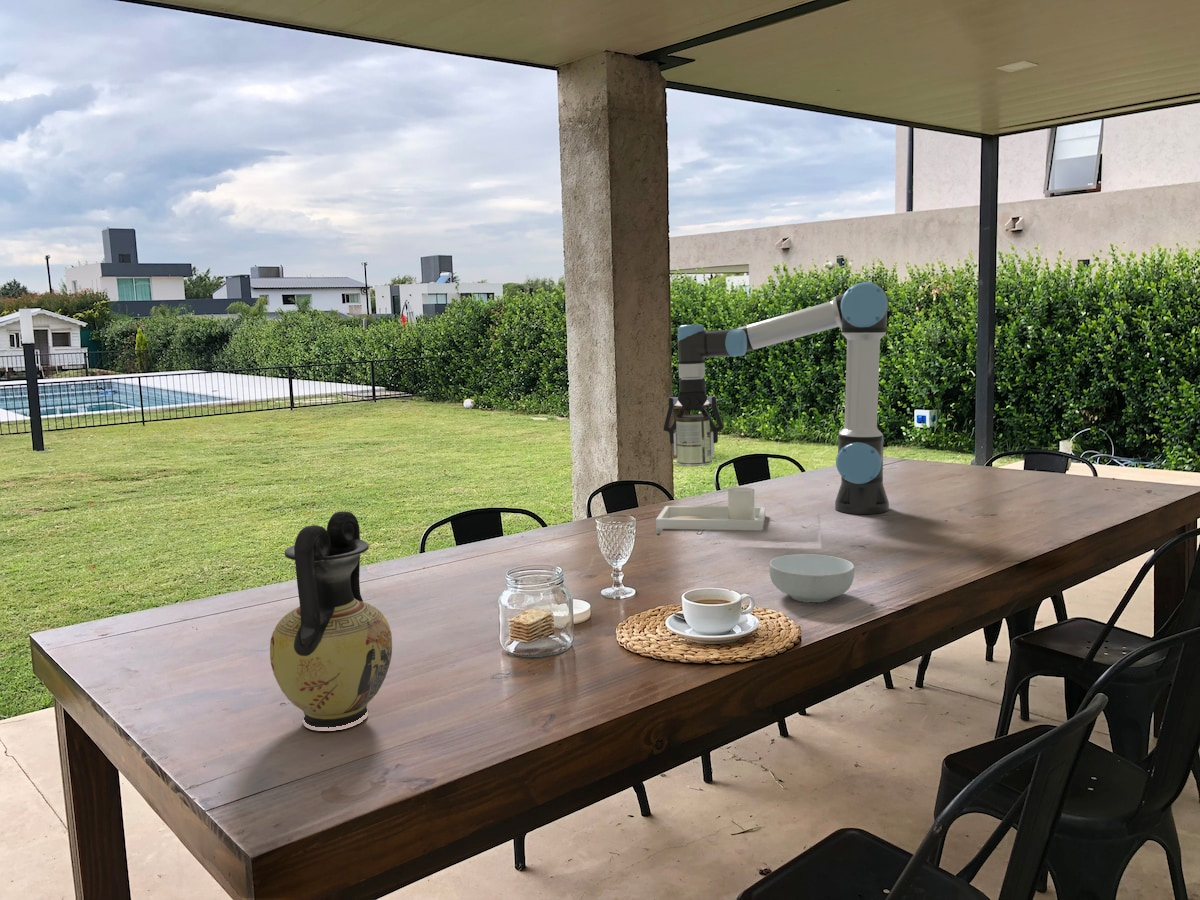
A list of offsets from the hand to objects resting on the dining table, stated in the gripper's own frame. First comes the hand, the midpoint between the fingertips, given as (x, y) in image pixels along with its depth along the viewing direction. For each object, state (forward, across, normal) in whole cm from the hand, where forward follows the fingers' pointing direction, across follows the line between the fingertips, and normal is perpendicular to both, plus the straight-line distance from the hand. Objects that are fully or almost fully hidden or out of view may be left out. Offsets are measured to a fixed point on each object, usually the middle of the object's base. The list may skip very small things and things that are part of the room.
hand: (694, 454), depth 270 cm
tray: (+17, -6, +19) cm, 27 cm away
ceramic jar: (+16, -14, +19) cm, 29 cm away
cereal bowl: (+18, -32, +81) cm, 89 cm away
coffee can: (+3, 0, 0) cm, 3 cm away
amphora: (+17, +36, +150) cm, 155 cm away
